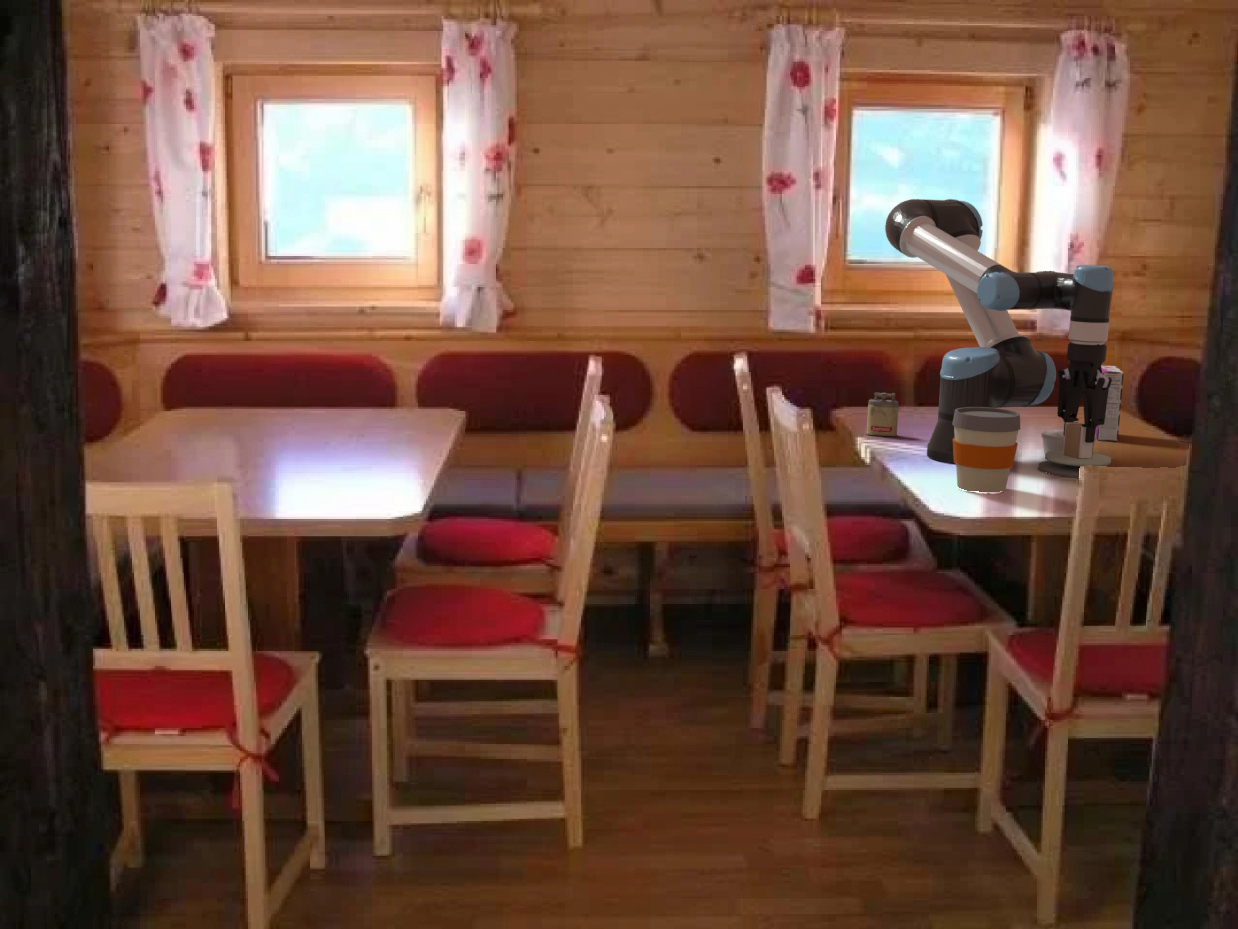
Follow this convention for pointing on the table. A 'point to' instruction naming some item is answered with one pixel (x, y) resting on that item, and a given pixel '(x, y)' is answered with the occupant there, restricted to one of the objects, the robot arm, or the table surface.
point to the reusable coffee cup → (984, 447)
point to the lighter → (882, 415)
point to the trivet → (1059, 469)
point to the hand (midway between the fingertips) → (1077, 455)
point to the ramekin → (1054, 440)
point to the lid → (1075, 451)
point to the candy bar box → (1111, 405)
